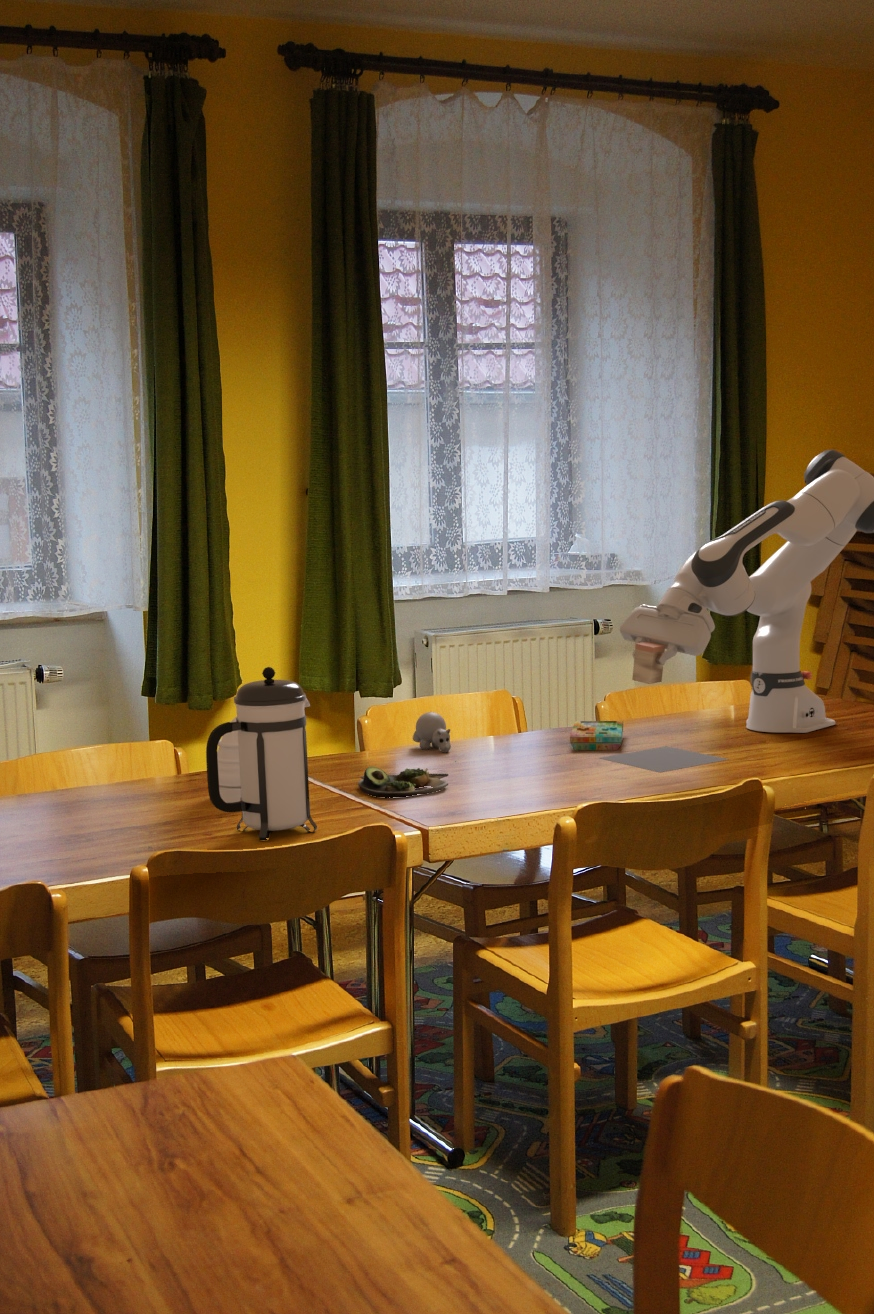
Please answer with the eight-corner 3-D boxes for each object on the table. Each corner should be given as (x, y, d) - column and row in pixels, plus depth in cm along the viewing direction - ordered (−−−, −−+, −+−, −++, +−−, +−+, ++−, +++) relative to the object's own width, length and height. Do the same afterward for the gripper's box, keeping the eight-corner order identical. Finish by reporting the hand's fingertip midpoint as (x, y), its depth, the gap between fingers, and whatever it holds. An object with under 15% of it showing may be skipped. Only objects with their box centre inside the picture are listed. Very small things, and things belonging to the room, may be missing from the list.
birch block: (644, 677, 281) (647, 641, 279) (661, 681, 278) (665, 645, 276) (632, 679, 278) (635, 643, 276) (649, 684, 275) (653, 647, 273)
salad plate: (432, 775, 278) (432, 754, 277) (469, 791, 262) (468, 768, 261) (348, 786, 270) (347, 765, 269) (380, 803, 254) (379, 780, 253)
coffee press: (251, 819, 243) (242, 661, 240) (330, 822, 239) (322, 661, 235) (209, 843, 227) (199, 674, 223) (293, 847, 222) (284, 675, 218)
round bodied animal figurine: (431, 765, 300) (436, 734, 296) (407, 739, 309) (412, 708, 305) (458, 760, 303) (463, 729, 300) (433, 735, 312) (438, 704, 309)
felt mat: (666, 747, 297) (666, 746, 297) (729, 760, 281) (729, 759, 281) (598, 759, 287) (598, 758, 287) (660, 773, 270) (660, 772, 270)
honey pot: (287, 792, 265) (283, 705, 263) (254, 806, 254) (249, 716, 251) (234, 788, 270) (229, 703, 268) (199, 802, 259) (194, 713, 257)
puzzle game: (569, 733, 296) (574, 718, 315) (570, 753, 296) (575, 737, 316) (621, 732, 294) (623, 717, 314) (621, 753, 294) (623, 736, 314)
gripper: (633, 594, 286) (602, 642, 281) (713, 610, 272) (682, 660, 268) (642, 612, 290) (613, 659, 285) (722, 628, 277) (692, 678, 272)
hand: (647, 660), depth 276 cm, fingers closed on birch block, 4 cm apart
